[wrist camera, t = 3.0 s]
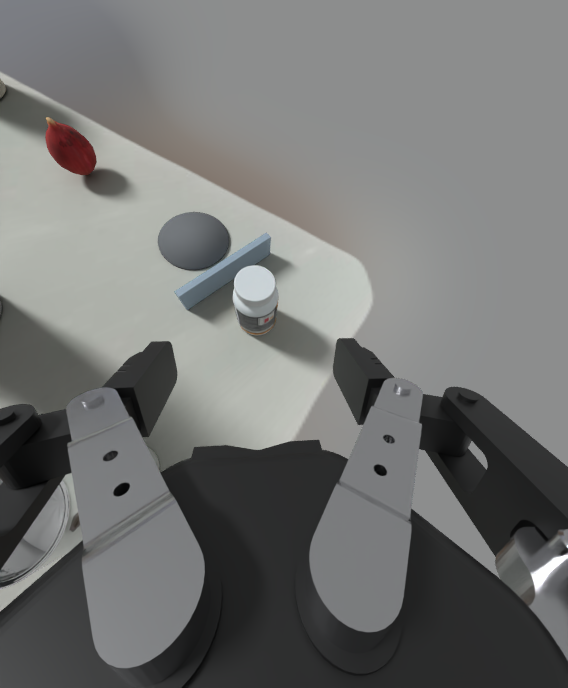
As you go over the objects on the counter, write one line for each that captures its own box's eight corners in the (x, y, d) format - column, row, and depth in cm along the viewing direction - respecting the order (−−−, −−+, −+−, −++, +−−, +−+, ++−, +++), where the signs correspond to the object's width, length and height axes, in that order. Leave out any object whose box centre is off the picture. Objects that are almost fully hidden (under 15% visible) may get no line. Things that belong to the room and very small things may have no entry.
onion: (110, 163, 42) (77, 107, 35) (101, 188, 41) (65, 134, 33) (74, 160, 42) (34, 102, 34) (65, 184, 40) (19, 129, 33)
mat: (185, 282, 37) (184, 280, 36) (145, 235, 39) (143, 233, 38) (242, 246, 40) (242, 244, 39) (202, 204, 42) (201, 202, 41)
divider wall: (187, 310, 36) (178, 296, 32) (183, 305, 36) (174, 291, 32) (269, 254, 40) (270, 237, 36) (265, 250, 40) (266, 232, 36)
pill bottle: (283, 322, 36) (291, 288, 27) (252, 344, 35) (249, 315, 25) (261, 295, 37) (261, 252, 28) (229, 314, 36) (219, 277, 27)
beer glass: (103, 514, 27) (-69, 618, 13) (99, 450, 29) (-54, 478, 15) (167, 494, 28) (74, 569, 14) (160, 433, 30) (71, 445, 16)
